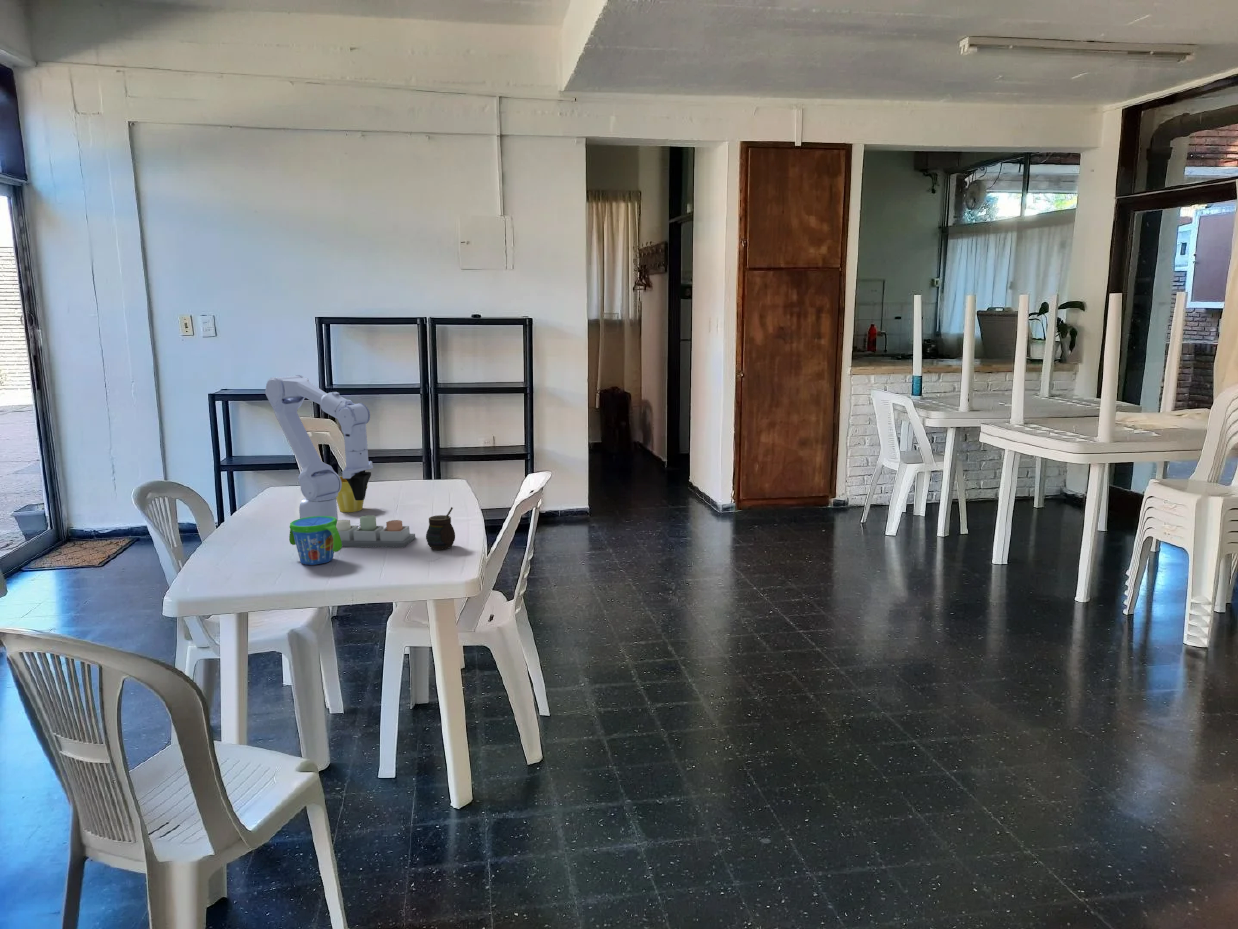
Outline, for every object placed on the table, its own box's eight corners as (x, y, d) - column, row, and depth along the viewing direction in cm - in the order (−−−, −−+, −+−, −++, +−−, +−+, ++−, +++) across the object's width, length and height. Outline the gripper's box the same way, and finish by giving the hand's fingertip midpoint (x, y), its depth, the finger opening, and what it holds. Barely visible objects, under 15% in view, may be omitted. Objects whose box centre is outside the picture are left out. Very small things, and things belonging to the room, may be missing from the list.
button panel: (322, 546, 214) (321, 532, 214) (336, 537, 223) (335, 523, 223) (403, 547, 213) (402, 533, 212) (415, 538, 221) (414, 524, 221)
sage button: (358, 533, 216) (357, 518, 215) (364, 529, 220) (363, 515, 219) (373, 534, 215) (372, 519, 215) (379, 530, 219) (378, 515, 218)
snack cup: (278, 561, 202) (274, 521, 200) (316, 551, 211) (312, 512, 209) (317, 572, 193) (314, 530, 191) (355, 561, 202) (352, 520, 200)
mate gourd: (420, 549, 211) (418, 510, 209) (442, 542, 217) (440, 505, 216) (440, 553, 207) (438, 514, 205) (462, 546, 213) (460, 508, 212)
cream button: (332, 538, 216) (331, 523, 216) (339, 534, 220) (337, 519, 220) (347, 538, 216) (346, 523, 215) (353, 534, 220) (352, 519, 219)
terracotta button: (384, 538, 215) (383, 523, 214) (390, 534, 219) (389, 520, 218) (400, 539, 215) (399, 524, 214) (405, 535, 219) (404, 520, 218)
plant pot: (362, 514, 249) (360, 482, 247) (328, 514, 249) (325, 482, 247) (373, 506, 259) (371, 475, 257) (340, 506, 259) (338, 475, 257)
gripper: (359, 454, 213) (363, 506, 215) (381, 445, 227) (384, 494, 229) (333, 454, 214) (337, 506, 216) (356, 445, 228) (360, 493, 230)
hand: (360, 499), depth 223 cm, fingers closed
